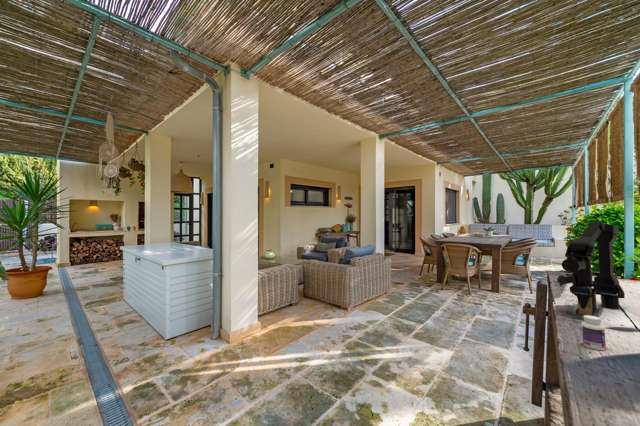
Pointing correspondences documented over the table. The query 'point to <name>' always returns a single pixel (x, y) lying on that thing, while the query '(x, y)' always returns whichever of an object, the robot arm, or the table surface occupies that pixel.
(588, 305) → the block
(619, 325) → the table surface
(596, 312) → the rail
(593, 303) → the mounted finger
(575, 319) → the table surface
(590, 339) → the pill bottle
